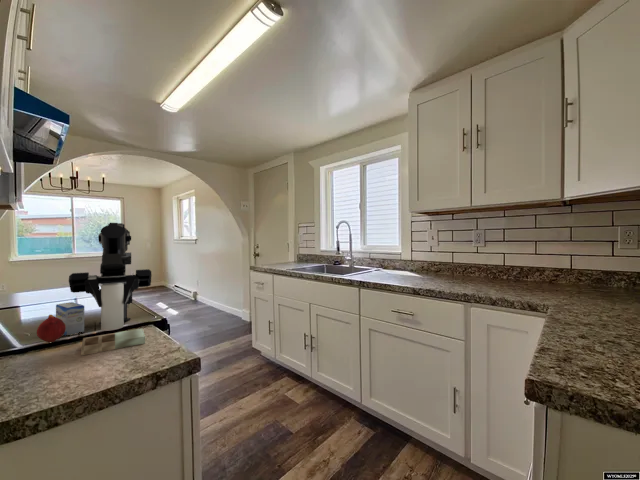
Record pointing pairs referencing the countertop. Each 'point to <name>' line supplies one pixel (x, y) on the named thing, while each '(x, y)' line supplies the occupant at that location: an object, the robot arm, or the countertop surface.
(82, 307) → the medicine box
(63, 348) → the countertop surface
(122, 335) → the board
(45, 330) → the onion
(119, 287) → the white cylinder
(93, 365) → the countertop surface
